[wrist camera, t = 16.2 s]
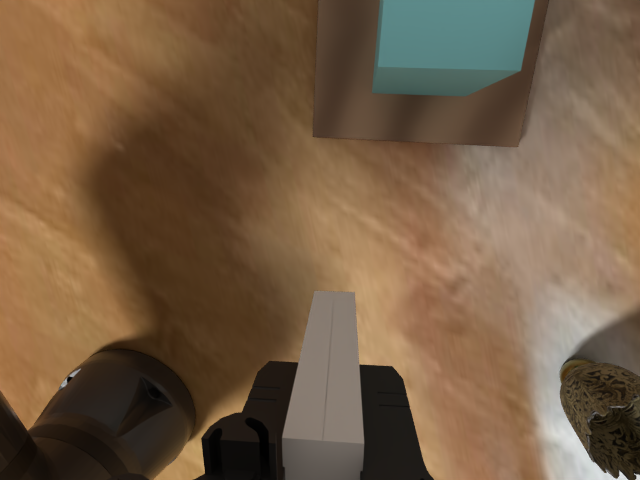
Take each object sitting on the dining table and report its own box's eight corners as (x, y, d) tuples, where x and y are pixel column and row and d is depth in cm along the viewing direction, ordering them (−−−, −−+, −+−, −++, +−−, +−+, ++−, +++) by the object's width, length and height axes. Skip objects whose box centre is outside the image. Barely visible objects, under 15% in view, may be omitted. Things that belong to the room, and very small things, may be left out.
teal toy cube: (371, 93, 26) (377, 66, 17) (381, -13, 24) (393, -104, 15) (465, 96, 25) (520, 70, 16) (482, -13, 23) (556, -107, 14)
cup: (566, 324, 30) (636, 384, 22) (639, 357, 30) (733, 429, 23) (518, 384, 32) (567, 458, 25) (586, 415, 32) (656, 498, 25)
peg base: (314, 137, 28) (299, 134, 21) (323, -63, 24) (308, -146, 17) (511, 146, 27) (564, 147, 20) (554, -65, 23) (639, -157, 16)
